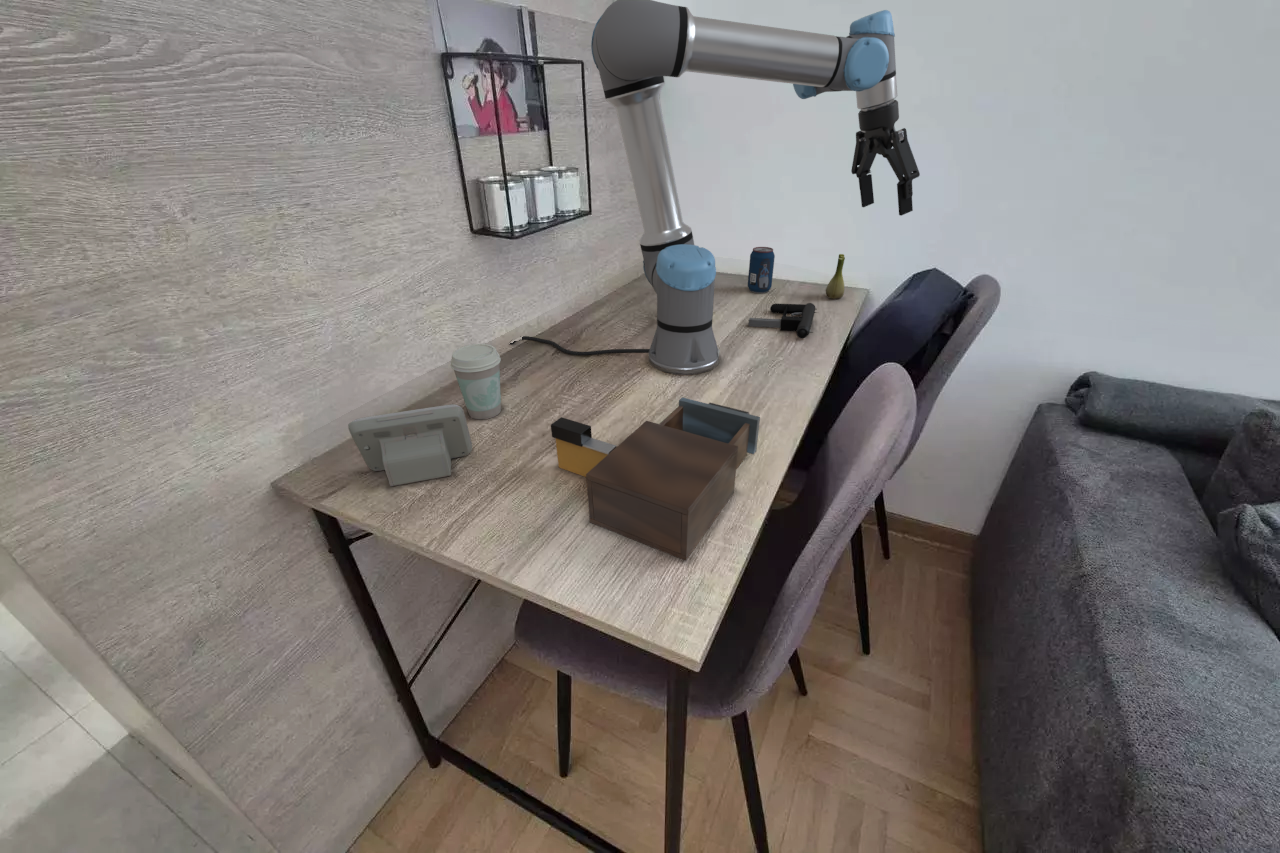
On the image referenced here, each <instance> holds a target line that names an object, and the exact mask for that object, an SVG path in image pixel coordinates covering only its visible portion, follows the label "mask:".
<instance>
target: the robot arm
mask: <svg viewBox="0 0 1280 853" xmlns="http://www.w3.org/2000/svg"><path fill="white" fill-rule="evenodd" d="M895 37H896V35H895V28H894V21H893V16H892V12H891V11H890V10H887V9H883V10H880V11H876V12H874V13H871V14H868V15H865V16H863V17H860V18H858V19H856V20H854V21H852V22H851V23H850V24H849V33H848V35H847V36H837V35H836V36H835V35H833V34H832V35H831V34H826V33H817V32H810V31H804V30H795V29H789V28H781V27H775V26H769V25H761V24H752V23H746V22H738V21H731V20H724V19H716V18H710V17H702V16H695V15H693V14H692V12H691V10H690V9H689V7H687V6H682V5H675V4H670V3H665V2H661V1H658V0H657V1H656V0H615V1H613V2H612V3H611V4H609V6H608V7H606V9H605V10H604V12H603V13H602V14H601V16H600V17H599V18H598V20H597V21H596V23H595V25H594V28H593V31H592V35H591V43H590V44H591V45H590V46H591V49H590V50H591V56H592V59H593V63H594V65H595V67H596V69H597V70H598V74H599V78H600V81H601V85H602V89H603V93H604V98H605V101H606V102H607V103H609V104H610V105H611V106H613V107H614V108H615V111H616V115H617V116H616V117H617V119H618V123H619V128H620V133H621V137H622V141H623V142H622V143H623V145H624V146H623V147H624V150H625V154H626V158H627V162H628V167H629V171H630V176H631V180H632V184H633V189H634V194H635V197H636V198H635V199H636V202H637V206H638V210H639V215H640V219H641V224H642V229H643V234H642V235H641V237H640V239H639V245H640V246H639V247H640V250H641V254H642V255H641V256H642V259H643V260H642V264H643V266H642V268H643V273H644V276H645V278H646V280H647V282H648V283H649V284H650V286H651V287H652V288H653V291H654V292H655V294H656V329H655V332H654V335H653V338H652V341H651V343H650V346H649V348H615V349H614V348H613V349H601V350H591V351H577V350H570V349H566V348H564V347H562V346H561V345H560V344H558V343H556V342H555V341H553V340H549V339H545V338H544V339H543V338H540V337H534V336H530V335H529V336H528V335H522V336H523V337H522V340H519V341H532V342H536V343H540V344H546V345H549V346H553V347H554V348H555V349H557V350H559V351H560V352H561V353H563V354H566V355H571V356H578V357H579V356H582V357H584V356H585V357H586V356H598V355H599V356H600V355H609V354H648V363H649V365H650V366H651V367H652V368H654V369H656V370H657V371H660V372H662V373H665V374H671V375H678V376H691V375H693V376H694V375H699V374H703V373H704V374H705V373H707V372H709V371H712V370H714V369H715V368H716V367H717V366H718V365H719V361H720V353H721V350H720V348H719V347H718V344H717V340H716V337H715V334H714V330H713V316H714V301H715V284H716V276H717V267H716V258H715V256H714V254H713V253H712V252H711V251H710V250H709V249H707V248H705V247H701V246H699V245H696V244H695V241H694V235H693V230H692V227H691V226H689V225H687V224H686V223H685V222H684V220H683V216H682V209H681V204H680V199H679V193H678V190H677V183H676V179H675V173H674V168H673V162H672V157H671V151H670V147H669V141H668V136H667V131H666V126H665V120H664V115H663V110H662V105H661V101H660V95H661V92H662V90H663V88H664V86H665V84H666V83H665V77H669V78H680V77H681V76H682V75H684V73H686V72H688V73H696V74H705V75H713V76H722V77H730V78H731V77H732V78H740V79H748V80H757V81H767V82H774V83H783V84H790V85H791V84H792V87H793V89H794V93H795V94H796V96H797V97H798V98H799V99H801V100H807V99H809V98H813V97H814V98H815V97H817V96H818V95H820V94H823V93H831V92H833V93H834V92H855V97H856V108H857V109H858V110H859V111H858V114H857V116H858V117H857V118H858V128H859V130H858V131H856V132H855V147H854V152H853V159H852V163H851V174H852V175H856V178H858V186H859V194H860V202H861V208H866V207H868V206H871V205H873V204H875V198H874V196H875V195H874V186H873V177H872V176H873V175H872V171H871V168H872V166H873V164H874V161H875V159H876V156H877V155H881V156H882V157H883V158H885V159H886V160H887V162H888V163H889V166H890V167H891V169H892V171H893V172H894V175H895V176H896V179H897V180H898V182H897V183H896V192H897V205H898V215H899V216H900V217H901V216H904V215H906V214H908V213H911V212H913V211H914V208H913V194H914V193H913V180H914V179H915V180H916V179H917V178H919V177H920V176H921V175H920V169H919V166H918V165H917V162H916V159H915V156H914V154H913V151H912V148H911V145H910V142H909V139H908V132H907V129H906V128H905V127H902V128H901V129H898V130H896V128H895V124H896V122H898V121H899V119H900V110H899V101H898V100H897V99H896V98H897V97H898V84H897V83H898V82H897V64H896V47H895V46H896V45H895V44H896V43H895ZM519 341H514V342H513V343H510V342H509V343H510V344H509V343H508V345H509V346H511V345H514V344H515V343H518V342H519Z"/></svg>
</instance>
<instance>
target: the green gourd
mask: <svg viewBox="0 0 1280 853" xmlns="http://www.w3.org/2000/svg"><path fill="white" fill-rule="evenodd" d="M845 260H846V257H845V254H844V253H839V254H838V258H837V264H836V268H835V273H834V275H833V276H832V278H831V279H830V280H829V282H828V283H827V286H826V288H825V295H826V297H827V298H828V299H832V300H838V299H841V298H843V297H844V293H845V281H844V276H843V268H844V264H845Z"/></svg>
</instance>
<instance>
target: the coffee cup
mask: <svg viewBox="0 0 1280 853" xmlns="http://www.w3.org/2000/svg"><path fill="white" fill-rule="evenodd" d="M501 360H502V359H501V356H500V354H499V352H498V351H497V348H496V347H495V346H493V345H491V344H487V343H473V344H467V345H463V346H460V347H458V348H456V349H454V350H453V352H452V353H451V359H450V368H451V369H452V370H453V372H454V375H455V378H456V381H457V384H458V386H459V390H460V392H461V396H462V398H463V402H464V405H465V407H466V410H467V412H468V416H469V417H471V418H472V419H474V420H488V419H491V418H495V417H496V416H498V415H499V414H500V413H501V411H502V401H501V400H502V398H501V394H502V393H501V373H500V372H501V371H500V363H501Z"/></svg>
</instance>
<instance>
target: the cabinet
mask: <svg viewBox="0 0 1280 853" xmlns="http://www.w3.org/2000/svg"><path fill="white" fill-rule="evenodd" d="M616 446H617V447H616V448H615V449H614V450H613V451H612V452H610V453H609V454H608V455H607V456H606V457H605V458H604V459H603V460H601V461H600V462H599V463H598V464H597V465H596V466H595V467H594V468H592V469H591V470H590V471H589V472H588V473H587V474H586V477H585V479H586V480H585V481H586V493H587V505H588V515H589V517H588V518H589V523H590V524H593V525H595V526H598V527H600V528H603V529H606V530H608V531H611V532H613V533H615V534H618V535H621V536H622V537H626V538H628V539H630V540H633V541H636V542H638V543H641V544H643V545H646V546H648V547H649V548H650V547H651V548H653V549H655V550H658V551H660V552H663V553H666V554H668V555H670V556H672V557H675V558H677V559H681V560H683V561H688V559H689V558H690V556H691V554H692V553H693V552H694V551H695V549H696V548H697V546H698V545H699V543H700V542H701V541H702V539H703V538H704V537H705V534H706V533H707V532H708V531H709V529H710V528H711V526H712V525H713V523H714V522H715V520H716V519H717V518H718V516H719V515H720V514H721V512H722V511H723V509H725V506H726V505H727V503H728V502H729V501H730V499H731V498H732V497H733V495H734V494H735V486H736V474H737V469H736V465H737V454H738V446H735V445H731V444H728V443H724V442H720V441H717V440H713V439H710V438H706V437H703V436H699V435H696V434H692V433H689V432H685V431H682V430H678V429H674V428H671V427H667V426H664V425H660V423H656V422H654V421H649V420H645V421H644V422H643V423H642V424H640V426H638V427H637V428H636V429H635V430H634V431H633V432H632V433H631V434H629V435H628V436H627V437H626V438H625V439H624V440H622V441H621V442H620V443H619V444H618V445H616Z"/></svg>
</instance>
